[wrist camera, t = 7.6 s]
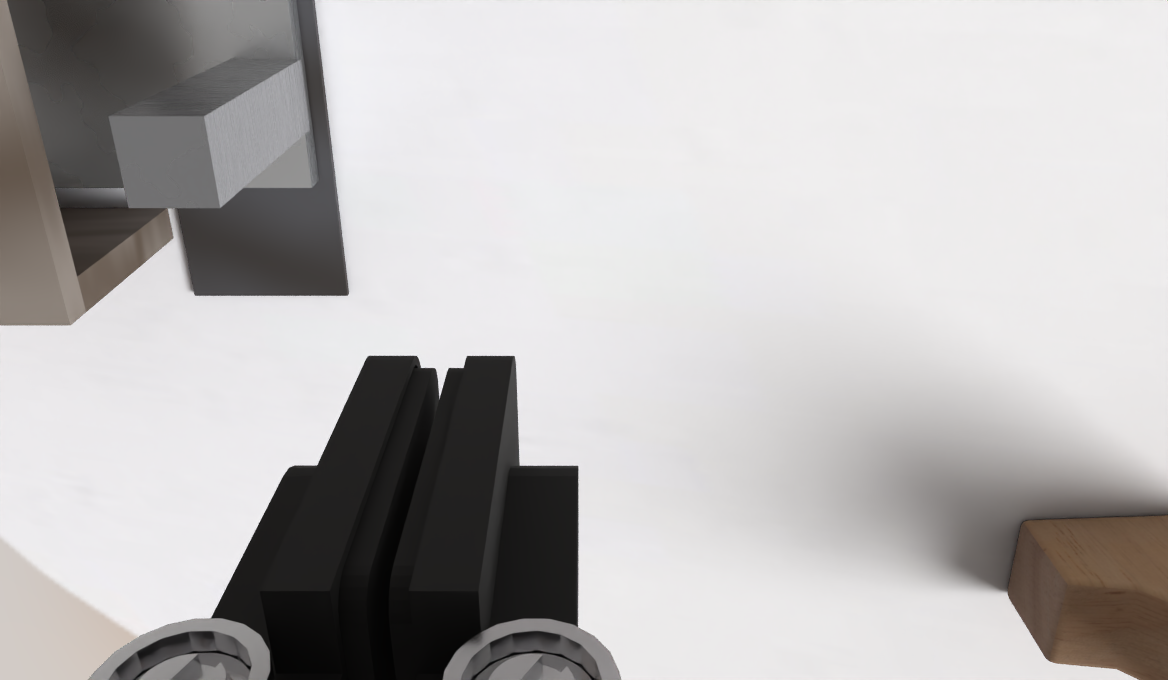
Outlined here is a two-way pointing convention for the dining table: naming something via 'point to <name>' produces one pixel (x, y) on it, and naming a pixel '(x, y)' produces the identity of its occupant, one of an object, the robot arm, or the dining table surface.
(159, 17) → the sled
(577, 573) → the robot arm
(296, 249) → the tunnel
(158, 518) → the dining table surface
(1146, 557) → the wooden block
